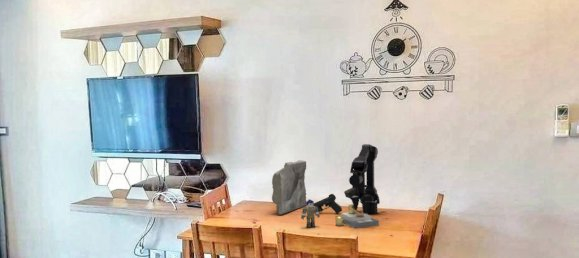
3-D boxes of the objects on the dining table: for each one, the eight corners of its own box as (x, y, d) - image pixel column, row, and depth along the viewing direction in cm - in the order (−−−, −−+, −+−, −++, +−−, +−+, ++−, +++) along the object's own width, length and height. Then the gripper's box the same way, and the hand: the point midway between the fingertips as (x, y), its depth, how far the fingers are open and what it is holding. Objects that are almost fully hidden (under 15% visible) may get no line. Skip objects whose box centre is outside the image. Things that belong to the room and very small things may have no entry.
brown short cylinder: (361, 215, 252) (361, 209, 252) (365, 216, 248) (365, 211, 248) (354, 215, 251) (354, 210, 251) (358, 217, 247) (358, 212, 247)
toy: (303, 229, 241) (303, 200, 240) (300, 227, 245) (299, 199, 244) (321, 226, 245) (320, 198, 244) (317, 225, 249) (317, 197, 248)
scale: (361, 217, 264) (361, 210, 264) (378, 225, 246) (378, 217, 246) (337, 220, 259) (337, 213, 258) (353, 228, 241) (353, 220, 241)
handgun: (342, 211, 273) (333, 193, 274) (316, 222, 277) (308, 204, 277) (343, 210, 275) (334, 192, 276) (317, 222, 279) (308, 203, 279)
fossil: (284, 216, 271) (283, 165, 269) (270, 215, 275) (269, 164, 273) (308, 205, 301) (307, 159, 300) (296, 204, 305) (295, 159, 304)
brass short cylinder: (354, 212, 260) (354, 204, 260) (358, 213, 256) (357, 205, 256) (347, 212, 259) (347, 204, 259) (350, 214, 255) (350, 206, 254)
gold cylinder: (333, 225, 248) (333, 216, 248) (339, 224, 250) (339, 215, 251) (339, 226, 244) (339, 217, 244) (345, 225, 247) (345, 216, 247)
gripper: (338, 181, 255) (338, 209, 255) (354, 186, 237) (355, 216, 238) (356, 180, 259) (356, 207, 259) (373, 185, 241) (373, 214, 242)
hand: (359, 211), depth 249 cm, fingers open, 9 cm apart
